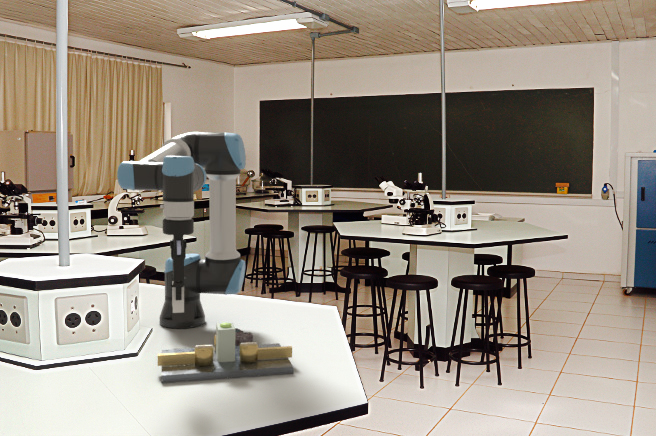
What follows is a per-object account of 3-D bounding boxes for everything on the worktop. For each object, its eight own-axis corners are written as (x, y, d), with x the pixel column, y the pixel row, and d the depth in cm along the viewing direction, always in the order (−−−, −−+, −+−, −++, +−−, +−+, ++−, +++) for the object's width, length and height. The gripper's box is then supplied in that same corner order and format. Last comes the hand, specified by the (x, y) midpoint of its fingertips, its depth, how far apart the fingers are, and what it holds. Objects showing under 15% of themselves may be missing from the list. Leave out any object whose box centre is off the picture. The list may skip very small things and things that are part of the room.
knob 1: (212, 358, 166) (212, 342, 165) (214, 364, 161) (214, 347, 160) (157, 361, 162) (157, 345, 161) (157, 368, 157) (157, 351, 157)
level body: (216, 355, 169) (216, 321, 168) (232, 353, 171) (232, 320, 170) (217, 362, 164) (218, 327, 163) (235, 361, 165) (235, 326, 164)
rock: (252, 348, 182) (252, 333, 182) (213, 349, 181) (213, 334, 181) (253, 340, 190) (253, 326, 190) (216, 340, 189) (216, 326, 189)
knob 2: (240, 363, 163) (240, 346, 162) (238, 356, 168) (238, 340, 167) (293, 359, 167) (293, 343, 166) (289, 353, 171) (290, 337, 171)
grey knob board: (161, 356, 172) (161, 336, 172) (279, 349, 181) (279, 330, 181) (161, 383, 153) (161, 360, 153) (293, 373, 162) (293, 352, 162)
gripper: (162, 214, 158) (162, 300, 161) (162, 222, 141) (162, 319, 143) (191, 214, 160) (191, 299, 163) (195, 222, 143) (195, 318, 145)
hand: (178, 309), depth 153 cm, fingers open, 5 cm apart
